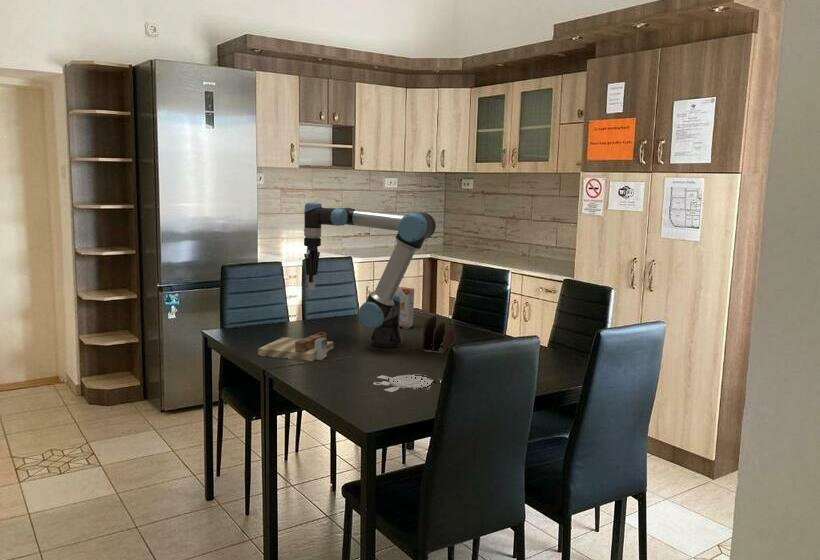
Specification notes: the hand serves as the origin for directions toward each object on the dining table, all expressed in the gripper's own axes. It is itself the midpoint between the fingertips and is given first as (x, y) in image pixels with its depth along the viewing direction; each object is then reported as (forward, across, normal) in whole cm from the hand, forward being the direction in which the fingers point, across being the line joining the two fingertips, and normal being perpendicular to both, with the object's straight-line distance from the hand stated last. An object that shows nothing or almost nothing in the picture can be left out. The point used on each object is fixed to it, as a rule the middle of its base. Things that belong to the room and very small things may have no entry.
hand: (311, 289), depth 302 cm
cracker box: (+25, -50, +28) cm, 62 cm away
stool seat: (+24, +20, +2) cm, 32 cm away
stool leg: (+21, +20, +9) cm, 31 cm away
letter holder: (+25, -12, +57) cm, 63 cm away
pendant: (+25, +47, +59) cm, 80 cm away
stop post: (+24, +26, +15) cm, 39 cm away
